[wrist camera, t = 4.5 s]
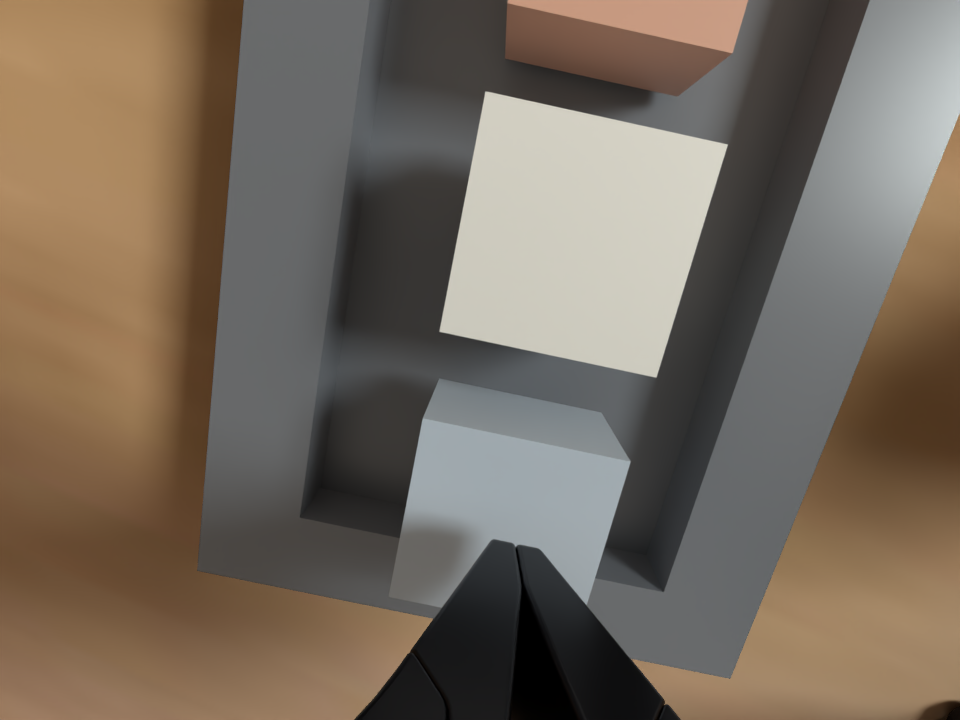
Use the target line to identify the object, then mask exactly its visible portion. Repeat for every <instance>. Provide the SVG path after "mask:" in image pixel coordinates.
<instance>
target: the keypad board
mask: <svg viewBox="0 0 960 720" xmlns="http://www.w3.org/2000/svg"><path fill="white" fill-rule="evenodd" d="M507 2H508V0H244V5H243V18H242V30H241V42H240V54H239V67H238V79H237V91H236V103H235V115H234V128H233V140H232V152H231V164H230V177H229V189H228V201H227V213H226V226H225V238H224V250H223V262H222V275H221V287H220V299H219V311H218V323H217V336H216V348H215V360H214V372H213V385H212V397H211V409H210V421H209V434H208V446H207V458H206V470H205V483H204V495H203V507H202V519H201V531H200V544H199V556H198V568H197V571H201V572H206V573H211V574H216V575H221V576H226V577H231V578H235V579H240V580H245V581H250V582H255V583H260V584H265V585H270V586H275V587H280V588H285V589H290V590H295V591H300V592H305V593H310V594H314V595H319V596H324V597H329V598H334V599H339V600H344V601H349V602H354V603H359V604H364V605H369V606H374V607H379V608H384V609H389V610H393V611H398V612H403V613H408V614H413V615H418V616H423V617H428V618H433V619H434V618H435V616H436V615H437V614H438V612H439V611H440V609H441V607H436V606H431V605H426V604H421V603H416V602H411V601H406V600H401V599H396V598H392V597H389V592H390V586H391V581H392V576H393V571H394V566H395V560H396V555H397V550H398V545H399V540H400V534H401V529H402V524H403V519H404V514H405V508H406V503H407V498H408V493H409V488H410V482H411V477H412V472H413V467H414V461H415V456H416V451H417V446H418V441H419V435H420V430H421V425H422V420H423V417H424V414H425V412H426V409H427V407H428V405H429V402H430V400H431V397H432V395H433V393H434V390H435V388H436V385H437V383H438V381H439V379H444V380H449V381H454V382H458V383H463V384H468V385H473V386H477V387H482V388H487V389H492V390H496V391H501V392H506V393H511V394H516V395H520V396H525V397H530V398H535V399H539V400H544V401H549V402H554V403H558V404H563V405H568V406H573V407H577V408H582V409H587V410H592V411H596V412H601V413H602V414H603V416H604V418H605V419H606V421H607V423H608V424H609V426H610V428H611V429H612V431H613V433H614V435H615V436H616V438H617V440H618V441H619V443H620V445H621V446H622V448H623V450H624V451H625V453H626V455H627V456H628V458H629V460H630V461H631V462H630V466H629V469H628V472H627V475H626V479H625V482H624V485H623V488H622V492H621V495H620V498H619V501H618V505H617V508H616V511H615V515H614V518H613V521H612V524H611V528H610V531H609V534H608V537H607V541H606V544H605V547H604V550H603V554H602V557H601V560H600V563H599V567H598V570H597V573H596V576H595V580H594V583H593V586H592V590H591V593H590V596H589V599H588V603H587V606H588V608H589V609H590V610H591V611H592V613H593V614H594V615H595V616H596V617H597V619H598V620H599V621H600V622H601V623H602V625H603V626H604V627H605V628H606V630H607V631H608V632H609V633H610V634H611V636H612V637H613V638H614V639H615V641H616V642H617V643H618V644H619V645H620V647H621V648H622V649H623V650H624V651H625V653H626V654H627V655H628V656H629V658H631V659H635V660H640V661H645V662H650V663H655V664H660V665H665V666H670V667H675V668H680V669H685V670H690V671H695V672H700V673H705V674H710V675H714V676H719V677H724V678H729V679H730V678H731V675H732V673H733V670H734V668H735V665H736V663H737V661H738V658H739V656H740V653H741V651H742V648H743V646H744V643H745V641H746V638H747V636H748V633H749V631H750V629H751V626H752V624H753V621H754V619H755V616H756V614H757V611H758V609H759V606H760V604H761V601H762V599H763V597H764V594H765V592H766V589H767V587H768V584H769V582H770V579H771V577H772V574H773V572H774V569H775V567H776V564H777V562H778V560H779V557H780V555H781V552H782V550H783V547H784V545H785V542H786V540H787V537H788V535H789V532H790V530H791V528H792V525H793V523H794V520H795V518H796V515H797V513H798V510H799V508H800V505H801V503H802V500H803V498H804V495H805V493H806V491H807V488H808V486H809V483H810V481H811V478H812V476H813V473H814V471H815V468H816V466H817V463H818V461H819V459H820V456H821V454H822V451H823V449H824V446H825V444H826V441H827V439H828V436H829V434H830V431H831V429H832V426H833V424H834V422H835V419H836V417H837V414H838V412H839V409H840V407H841V404H842V402H843V399H844V397H845V394H846V392H847V390H848V387H849V385H850V382H851V380H852V377H853V375H854V372H855V370H856V367H857V365H858V362H859V360H860V357H861V355H862V353H863V350H864V348H865V345H866V343H867V340H868V338H869V335H870V333H871V330H872V328H873V325H874V323H875V321H876V318H877V316H878V313H879V311H880V308H881V306H882V303H883V301H884V298H885V296H886V293H887V291H888V288H889V286H890V284H891V281H892V279H893V276H894V274H895V271H896V269H897V266H898V264H899V261H900V259H901V256H902V254H903V252H904V249H905V247H906V244H907V242H908V239H909V237H910V234H911V232H912V229H913V227H914V224H915V222H916V219H917V217H918V215H919V212H920V210H921V207H922V205H923V202H924V200H925V197H926V195H927V192H928V190H929V187H930V185H931V183H932V180H933V178H934V175H935V173H936V170H937V168H938V165H939V163H940V160H941V158H942V155H943V153H944V150H945V148H946V146H947V143H948V141H949V138H950V136H951V133H952V131H953V128H954V126H955V123H956V121H957V118H958V116H959V114H960V0H748V3H747V6H746V9H745V13H744V16H743V20H742V23H741V26H740V30H739V33H738V36H737V40H736V43H735V47H734V50H733V53H732V54H731V55H730V56H728V57H727V58H726V59H725V60H723V61H722V62H721V63H720V64H718V65H717V66H716V67H714V68H713V69H712V70H711V71H709V72H708V73H707V74H706V75H704V76H703V77H702V78H701V79H699V80H698V81H697V82H695V83H694V84H693V85H692V86H690V87H689V88H688V89H687V90H685V91H684V92H683V93H681V94H680V95H679V96H678V97H677V96H672V95H668V94H663V93H659V92H654V91H650V90H645V89H640V88H636V87H631V86H627V85H622V84H618V83H613V82H609V81H604V80H600V79H595V78H591V77H586V76H582V75H577V74H573V73H568V72H564V71H559V70H555V69H550V68H545V67H541V66H536V65H532V64H527V63H523V62H518V61H514V60H509V59H505V46H506V21H507ZM485 92H491V93H496V94H500V95H505V96H509V97H514V98H518V99H523V100H527V101H532V102H537V103H541V104H546V105H550V106H555V107H559V108H564V109H568V110H573V111H577V112H582V113H587V114H591V115H596V116H600V117H605V118H609V119H614V120H618V121H623V122H628V123H632V124H637V125H641V126H646V127H650V128H655V129H659V130H664V131H669V132H673V133H678V134H682V135H687V136H691V137H696V138H700V139H705V140H709V141H714V142H719V143H723V144H728V146H727V149H726V152H725V156H724V159H723V162H722V165H721V169H720V172H719V175H718V178H717V182H716V185H715V188H714V192H713V195H712V198H711V201H710V205H709V208H708V211H707V214H706V218H705V221H704V224H703V227H702V231H701V234H700V237H699V240H698V244H697V247H696V250H695V254H694V257H693V260H692V263H691V267H690V270H689V273H688V276H687V280H686V283H685V286H684V289H683V293H682V296H681V299H680V302H679V306H678V309H677V312H676V315H675V319H674V322H673V325H672V329H671V332H670V335H669V338H668V342H667V345H666V348H665V351H664V355H663V358H662V361H661V364H660V368H659V371H658V374H657V377H651V376H646V375H641V374H637V373H632V372H627V371H623V370H618V369H613V368H608V367H604V366H599V365H594V364H590V363H585V362H580V361H575V360H571V359H566V358H561V357H556V356H552V355H547V354H542V353H538V352H533V351H528V350H523V349H519V348H514V347H509V346H505V345H500V344H495V343H490V342H486V341H481V340H476V339H471V338H467V337H462V336H457V335H453V334H448V333H443V332H439V331H440V326H441V321H442V316H443V310H444V305H445V300H446V295H447V290H448V284H449V279H450V274H451V269H452V264H453V258H454V253H455V248H456V243H457V238H458V232H459V227H460V222H461V217H462V211H463V206H464V201H465V196H466V191H467V185H468V180H469V175H470V170H471V165H472V159H473V154H474V149H475V144H476V139H477V133H478V128H479V123H480V118H481V113H482V107H483V102H484V97H485Z"/></svg>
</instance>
